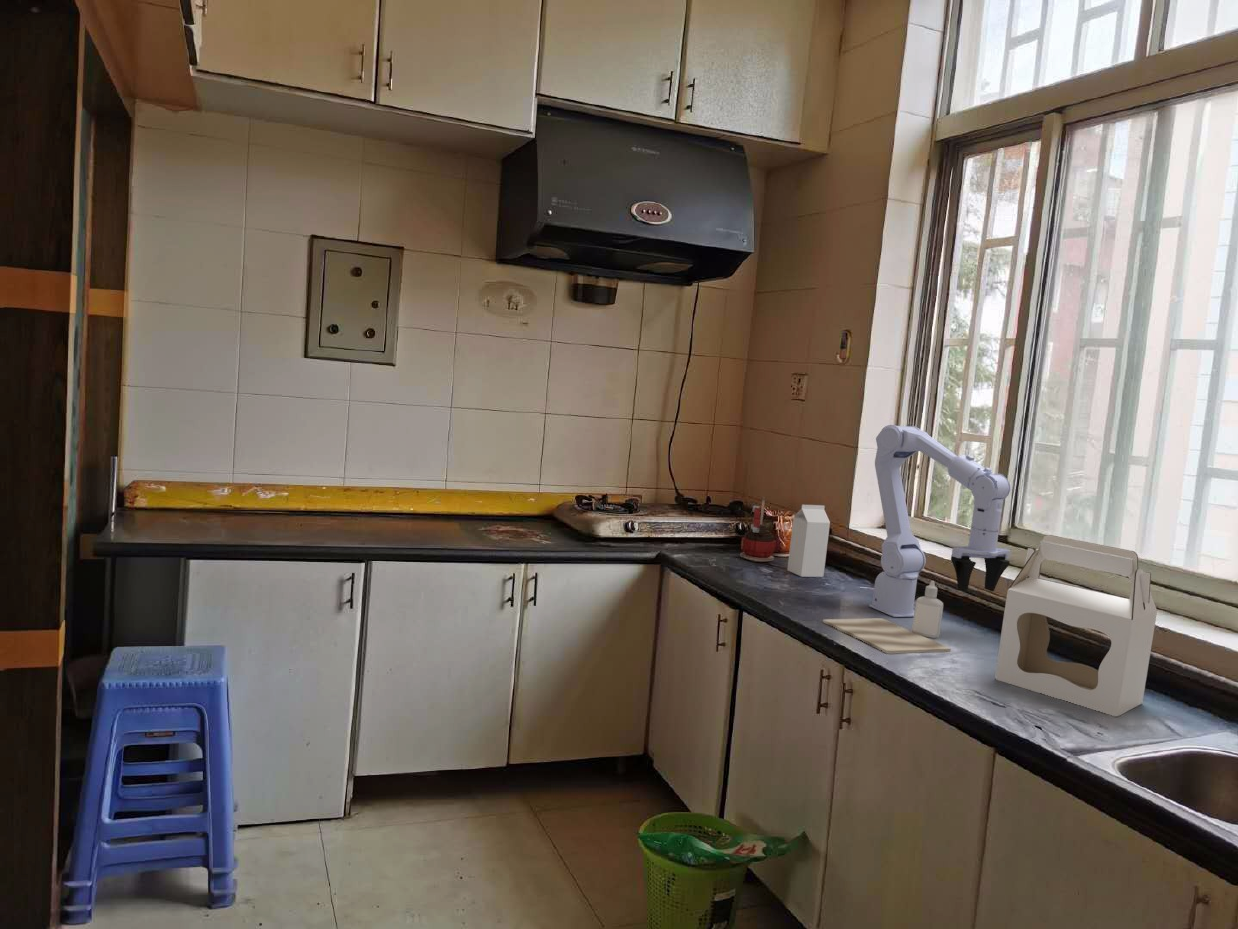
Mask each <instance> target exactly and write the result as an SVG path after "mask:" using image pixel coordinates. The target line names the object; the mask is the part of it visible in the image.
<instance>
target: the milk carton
mask: <svg viewBox="0 0 1238 929" xmlns="http://www.w3.org/2000/svg"><path fill="white" fill-rule="evenodd" d="M825 507H826V506H825V505H822V504H801V508H800V509H799V510H798V511H797V513H796V514H795V515H794V516H793V520H792V527H791V535H790V543H789V550H788V551H789V553H788V562H787V567H786V568H787V571H788V572H790V573H792V574H795V575H797V576H799V577H802V578H803V577H807V578H808V577H809V578H810V577H813V578H814V577H815V578H820V577H821V578H822V577H824V574H825V568H826V567H825V566H826V559H827V551H828V542H829V534H830V525H831V521H830V519H829V517H828V515H827V513H826V510H825Z"/></svg>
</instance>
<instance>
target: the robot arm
mask: <svg viewBox="0 0 1238 929" xmlns="http://www.w3.org/2000/svg"><path fill="white" fill-rule="evenodd" d="M875 440H876V441H875V443H876V447H877V448H876V453H875V458H874V468H875V474H876V478H877V484H878V492H879V497H880V502H881V509H882V513H883V519H884V524H885V525H884V526H885V531H886V538H885V539H884V541H883V542H882V543H881V551H882V552H881V556H880V557H881V558H880V565H881V568H882V569H883V571H882V572H880V573H879V574H878V575H877V576H876V578H875V580H874V587H873V595H872V601H871V604H868V606H869V607H870V608H872V609H875V610H877V611H879V612H882V613H884V614H887V615H888V616H890V617H892V618H893V617H894V618H908V617H909V618H910V617H911V618H914V612H915V611H914V608H915V596H916V592H917V582H918V578H919V575H920V572H922V571H923V570H924V568H925V566H926V564H927V563H926V562H927V558H926V554H925V552H924V551H923V550H922V548H921V544H920V541H919V539H918V538H917V537H916V536H915V535H914V534H913V533H912V529H911V524H910V518H909V513H908V507H907V502H906V497H905V491H904V485H903V479H902V474H901V467H902V466H903V464H904V462H906V461H907V460H908V459H909V458H911V456H913V455H914V454H916V453H918V452H919V453H920V452H921V453H922V454H924V455H925V456H927V457H929V458H930V459H932V460H934V461H936V462H938V463H939V464H941V465H942V466H944V467H946V468H947V474H948V476H949V477H951V478H952V479H953V480H955V481H956V482H958V483H959V484H961V485H962V486H964V487H965V488H967V489H968V490H970V491H971V494H972V496H973V505H974V506H973V511H972V517H971V524H970V531H969V532H970V533H969V539H968V545H967V546H966V545H965V546H958V547H957V546H956V547H952V550H951V557H950V560H951V563H952V565H953V567H954V571H955V575H956V576H955V577H956V582H957V583H956V584H957V590H960V591H962V592H968V589H969V585H970V581H971V576H972V574H973V573H972V572H973V570H974V568H975V566H976V564H977V562H975V561H973V560H972V558H973V559H975V558H976V559H977V558H978V559H979V558H981V559H982V558H983V559H984V565H985V579H984V590H987V591H989V592H994V591H995V590H996V587H997V585H998V582H999V580H1000V578H1001V577H1002V574H1003V573H1004V572H1005V570H1006V569H1007V568H1008V567H1009V566H1010V560H1009V559H1011V558H1010V556H1011V550H1010V549H1008V548H1003V547H1002V548H998V547H997V546H998V540H999V532H1000V526H1001V519H1002V513H1003V506H1004V499H1006V498H1007V497H1008V496H1009V494H1010V492H1011V484H1010V481H1009V480H1008V478H1007V477H1005V475H1004V474H1002V473H993V472H992V469H991V468H990V467H984V466H983V465H981V464H980V463H978V462H977V461H975V460H976V458H975V457H974V456H973V455H971V454H960V455H957V454H955V453H954V452H952V451H951V450H949V449H948V448H947V447H945V446H944V445H943V444H942V443H940V442H939V441H937V440H936V439H935V438H933V437H932V436H930V435H929V434H928V432H926V431H925V430H922V429H920V428H919V427H917V426H914V425H910V426H909V425H908V426H906V425H905V426H904V425H895V424H888V425H885V426H884V427H883V428H882V429H881V431H879V433H878V434H877V436H876V437H875Z"/></svg>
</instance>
